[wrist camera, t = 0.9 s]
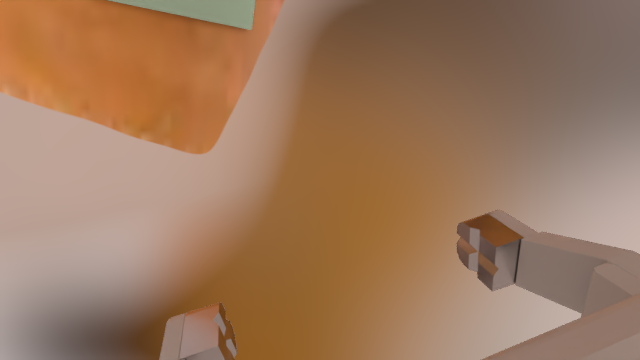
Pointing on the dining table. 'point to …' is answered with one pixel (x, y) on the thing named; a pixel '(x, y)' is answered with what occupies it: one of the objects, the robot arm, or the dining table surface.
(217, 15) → the putting deck
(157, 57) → the dining table surface
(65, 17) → the dining table surface
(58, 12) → the dining table surface
